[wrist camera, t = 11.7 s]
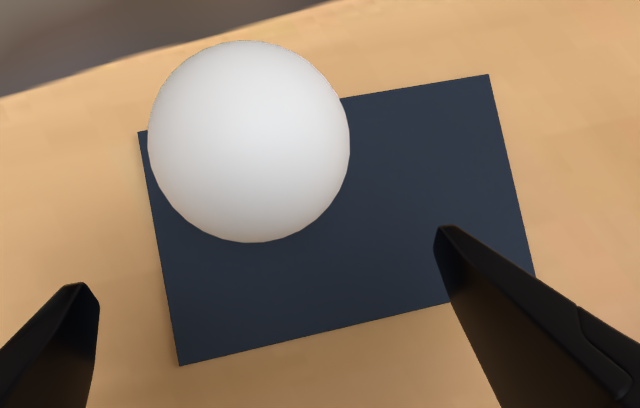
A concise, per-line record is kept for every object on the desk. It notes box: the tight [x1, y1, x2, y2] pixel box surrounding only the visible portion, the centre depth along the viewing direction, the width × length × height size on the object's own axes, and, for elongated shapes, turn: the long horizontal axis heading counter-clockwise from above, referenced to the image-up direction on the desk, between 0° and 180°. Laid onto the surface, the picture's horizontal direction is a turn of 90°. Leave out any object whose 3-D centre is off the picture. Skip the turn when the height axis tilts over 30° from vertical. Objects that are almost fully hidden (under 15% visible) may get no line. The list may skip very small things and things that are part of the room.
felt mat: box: [137, 74, 536, 366], centre depth 20 cm, size 20×12×1 cm, turn 102°
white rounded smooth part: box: [147, 40, 350, 243], centre depth 14 cm, size 6×6×11 cm
